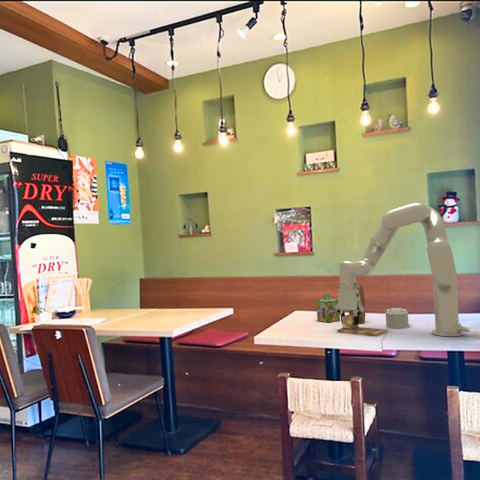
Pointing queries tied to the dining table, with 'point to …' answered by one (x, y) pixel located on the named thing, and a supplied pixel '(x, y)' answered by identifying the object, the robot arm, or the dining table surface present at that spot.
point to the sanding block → (348, 322)
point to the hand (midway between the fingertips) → (350, 323)
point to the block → (361, 293)
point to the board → (364, 331)
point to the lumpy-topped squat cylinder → (397, 318)
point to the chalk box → (327, 310)
